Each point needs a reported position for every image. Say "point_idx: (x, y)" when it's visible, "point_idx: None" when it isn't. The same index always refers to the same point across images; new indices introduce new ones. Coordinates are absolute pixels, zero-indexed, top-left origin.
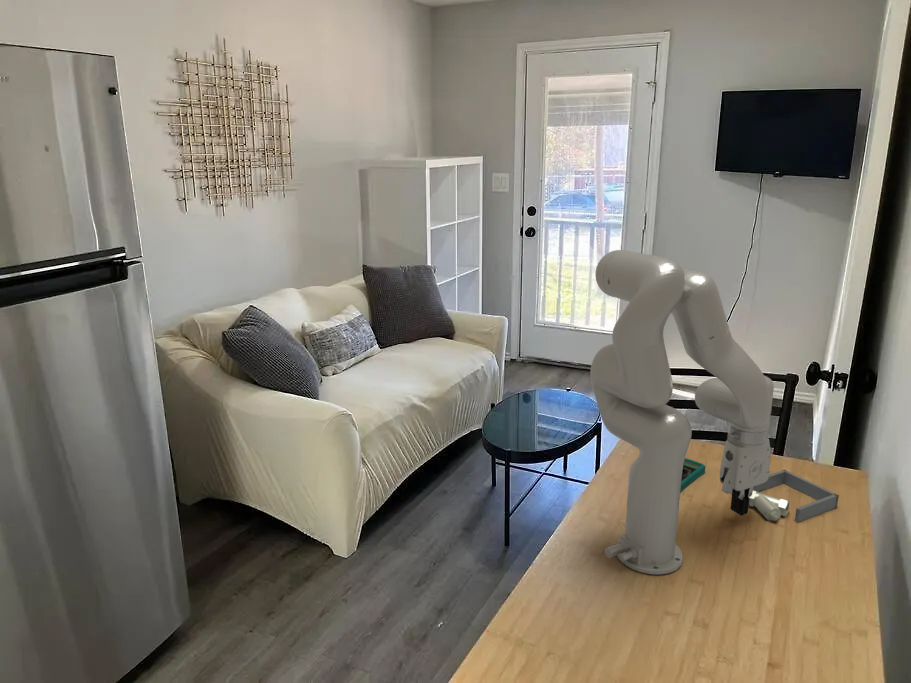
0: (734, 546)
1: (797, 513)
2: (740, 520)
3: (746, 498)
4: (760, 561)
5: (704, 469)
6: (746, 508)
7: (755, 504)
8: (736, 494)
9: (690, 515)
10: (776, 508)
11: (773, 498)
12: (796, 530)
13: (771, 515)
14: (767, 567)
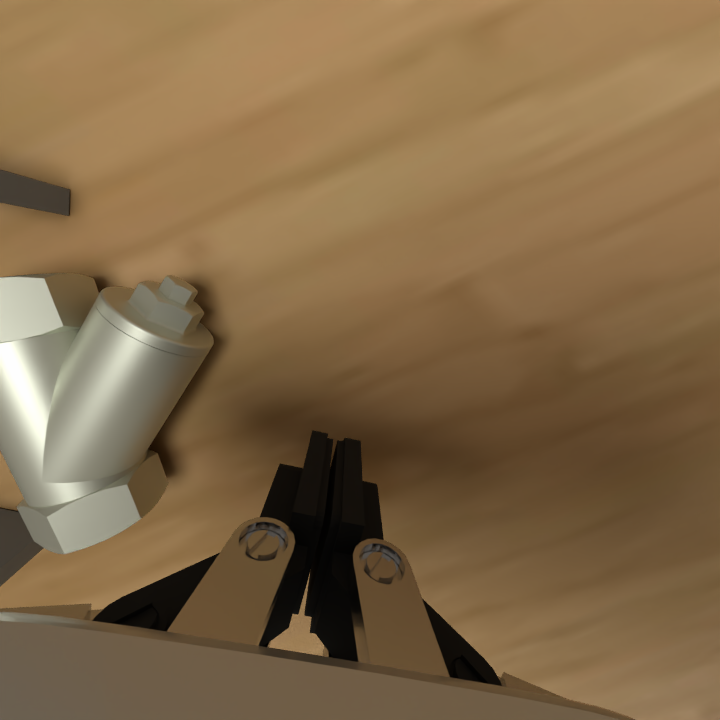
0: (604, 338)
1: (8, 187)
2: (329, 433)
3: (317, 523)
4: (671, 161)
5: None
6: (325, 457)
7: (147, 449)
8: (441, 628)
9: (465, 597)
10: (118, 314)
11: (8, 392)
12: (168, 153)
13: (192, 319)
14: (713, 97)
